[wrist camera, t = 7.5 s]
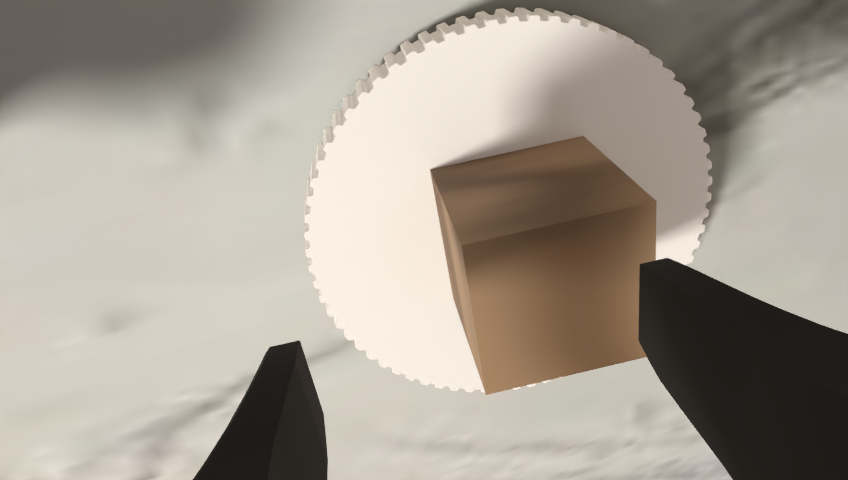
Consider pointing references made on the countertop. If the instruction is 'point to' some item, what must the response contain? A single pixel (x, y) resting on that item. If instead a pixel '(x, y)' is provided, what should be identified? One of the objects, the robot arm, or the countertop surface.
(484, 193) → the walnut cube
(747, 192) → the countertop surface
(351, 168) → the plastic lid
